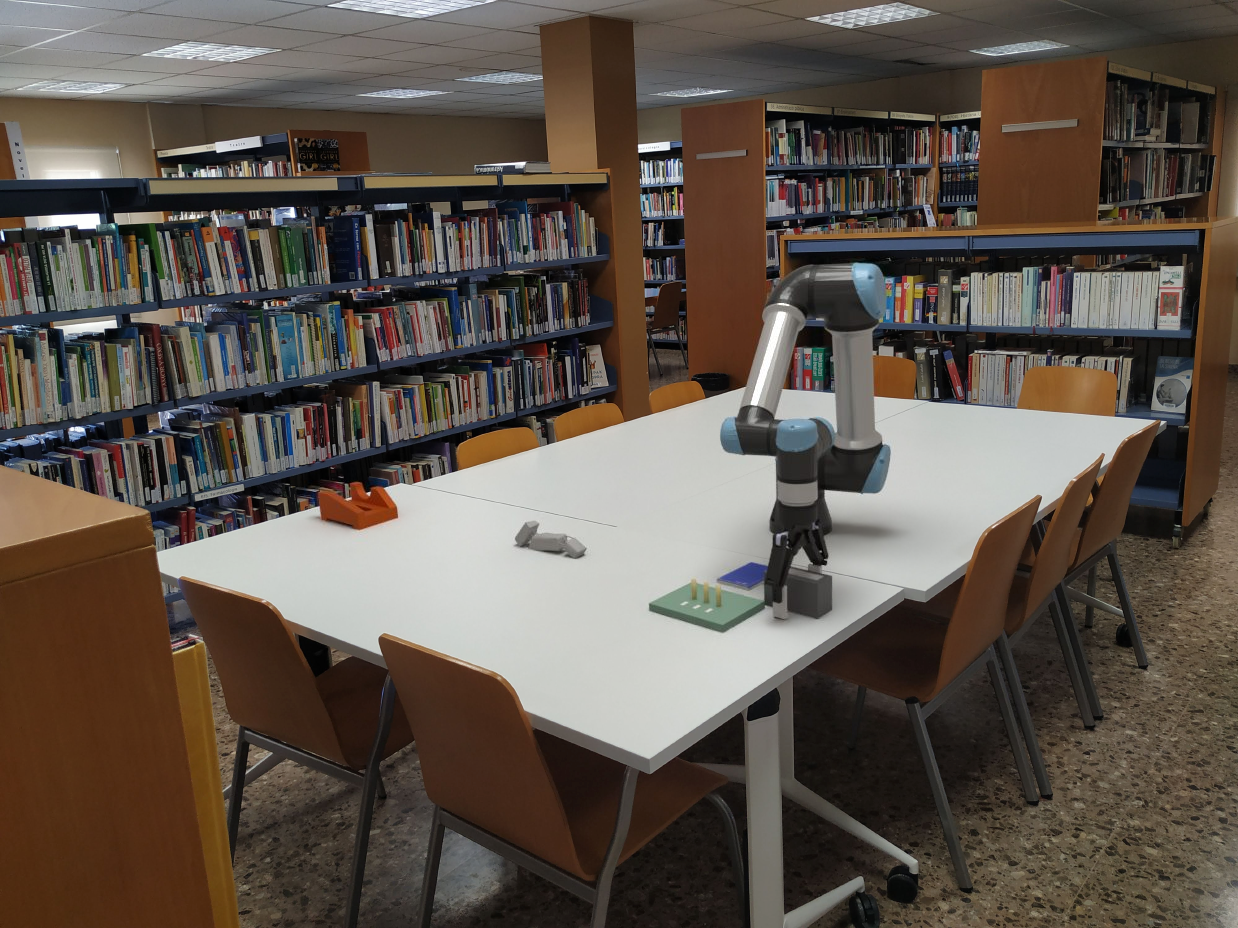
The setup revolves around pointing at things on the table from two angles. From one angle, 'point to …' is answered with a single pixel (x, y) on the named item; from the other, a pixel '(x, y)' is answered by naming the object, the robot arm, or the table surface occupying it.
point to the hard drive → (745, 576)
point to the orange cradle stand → (358, 507)
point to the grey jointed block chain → (548, 540)
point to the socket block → (805, 592)
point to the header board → (707, 606)
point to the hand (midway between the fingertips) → (797, 606)
